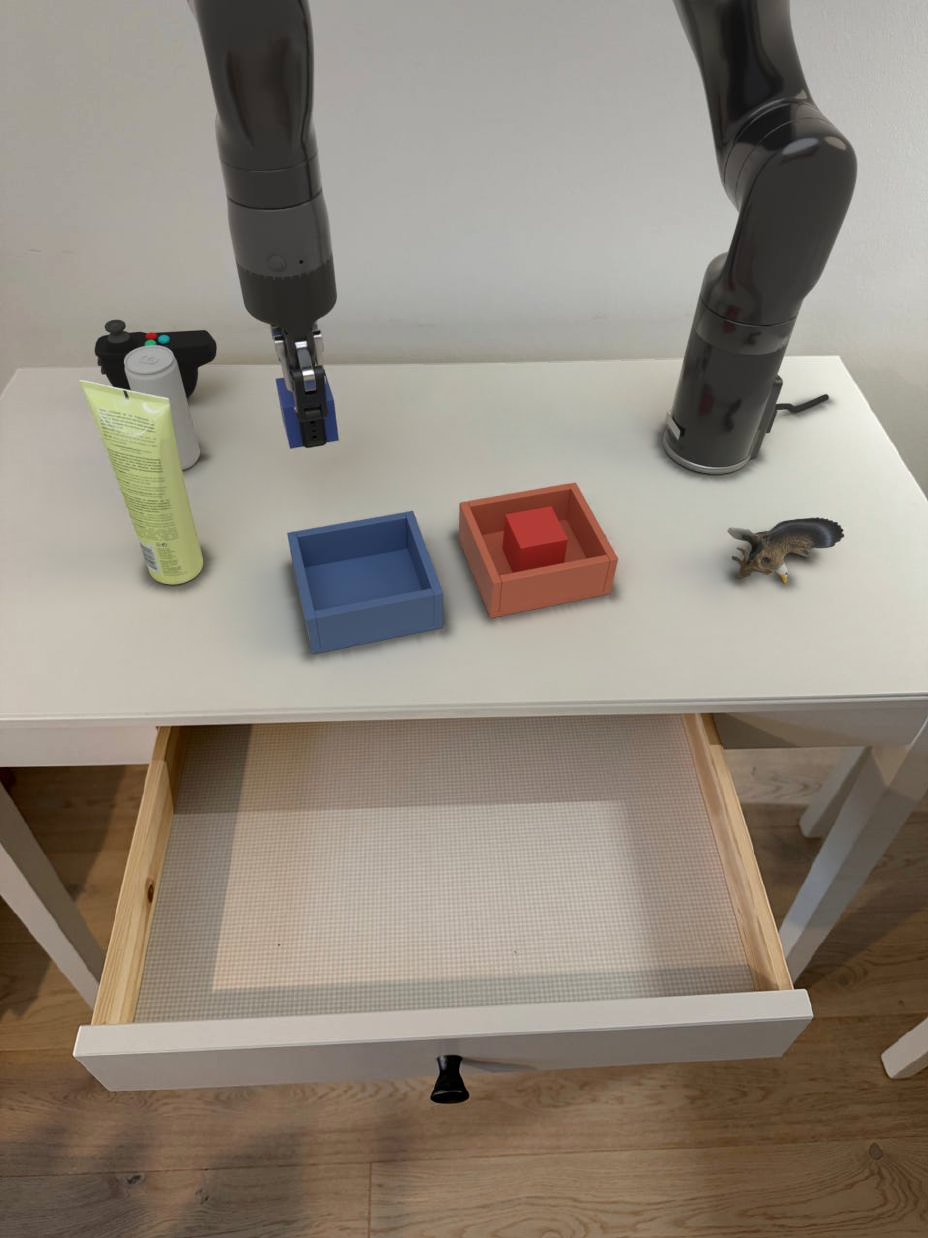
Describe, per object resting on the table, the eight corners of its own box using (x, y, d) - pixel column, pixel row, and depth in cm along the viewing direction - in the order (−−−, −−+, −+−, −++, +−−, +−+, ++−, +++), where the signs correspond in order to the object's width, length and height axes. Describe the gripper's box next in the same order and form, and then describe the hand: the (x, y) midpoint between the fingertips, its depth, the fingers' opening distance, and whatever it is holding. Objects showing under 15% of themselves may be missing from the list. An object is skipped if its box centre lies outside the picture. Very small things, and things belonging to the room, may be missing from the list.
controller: (115, 396, 98) (88, 314, 91) (227, 387, 100) (210, 306, 92) (112, 419, 95) (84, 337, 88) (227, 409, 97) (209, 328, 89)
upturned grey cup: (190, 477, 90) (162, 376, 80) (146, 470, 90) (113, 369, 81) (208, 447, 93) (183, 347, 84) (165, 441, 93) (136, 341, 84)
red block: (546, 540, 84) (551, 505, 80) (562, 573, 81) (568, 538, 78) (502, 549, 83) (504, 514, 80) (516, 582, 80) (520, 547, 77)
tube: (203, 540, 84) (152, 362, 69) (217, 575, 81) (168, 397, 66) (143, 557, 82) (78, 379, 67) (156, 594, 79) (91, 415, 64)
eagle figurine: (784, 610, 78) (855, 558, 80) (761, 542, 75) (836, 490, 77) (727, 593, 85) (794, 545, 87) (704, 529, 82) (774, 482, 84)
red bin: (570, 517, 87) (576, 481, 84) (610, 593, 80) (618, 558, 77) (458, 537, 85) (459, 502, 81) (490, 618, 78) (492, 583, 75)
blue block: (330, 411, 83) (324, 370, 79) (339, 440, 80) (334, 399, 77) (282, 419, 82) (275, 378, 79) (290, 449, 79) (282, 407, 76)
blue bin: (414, 545, 84) (413, 510, 80) (442, 628, 77) (443, 593, 74) (293, 568, 82) (286, 532, 78) (312, 654, 75) (306, 619, 72)
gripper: (348, 287, 64) (366, 469, 77) (315, 202, 73) (335, 377, 86) (245, 301, 63) (280, 484, 76) (224, 212, 72) (259, 389, 85)
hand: (310, 426), depth 81 cm, fingers closed on blue block, 4 cm apart
